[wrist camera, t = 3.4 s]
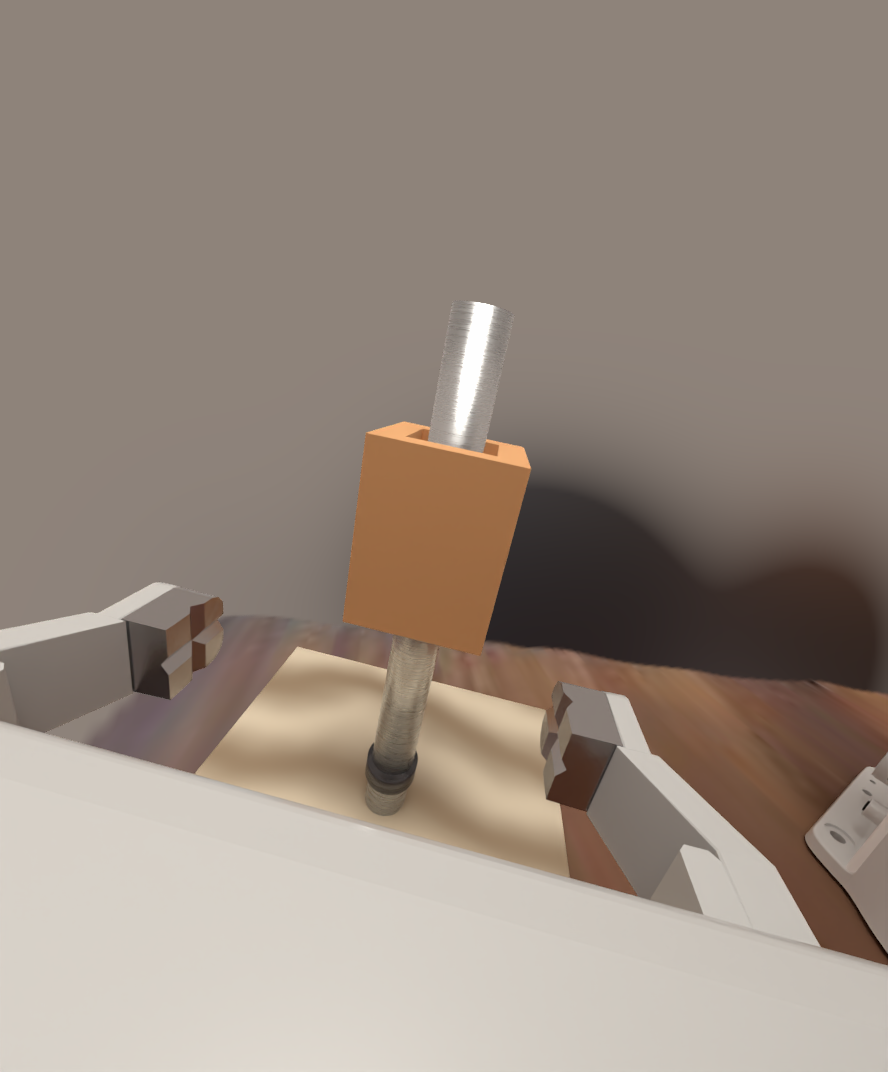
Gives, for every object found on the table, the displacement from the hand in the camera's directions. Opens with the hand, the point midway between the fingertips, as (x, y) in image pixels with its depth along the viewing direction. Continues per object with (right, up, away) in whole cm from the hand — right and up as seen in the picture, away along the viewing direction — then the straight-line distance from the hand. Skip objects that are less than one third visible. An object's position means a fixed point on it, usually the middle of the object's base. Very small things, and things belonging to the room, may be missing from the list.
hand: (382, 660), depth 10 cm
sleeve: (+1, 0, +10) cm, 10 cm away
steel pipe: (-2, -13, +15) cm, 20 cm away
